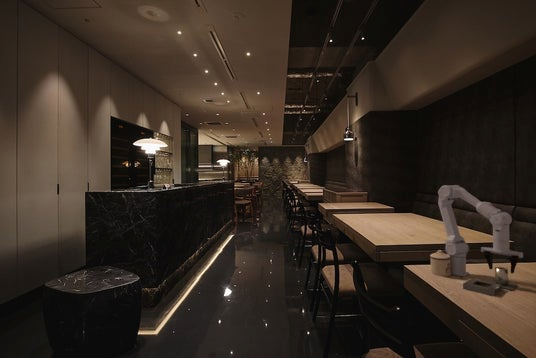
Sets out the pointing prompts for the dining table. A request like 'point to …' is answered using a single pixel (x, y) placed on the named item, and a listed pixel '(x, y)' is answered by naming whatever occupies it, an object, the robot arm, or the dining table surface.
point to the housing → (482, 287)
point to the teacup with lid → (440, 264)
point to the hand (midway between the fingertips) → (501, 270)
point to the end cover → (501, 276)
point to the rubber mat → (509, 287)
